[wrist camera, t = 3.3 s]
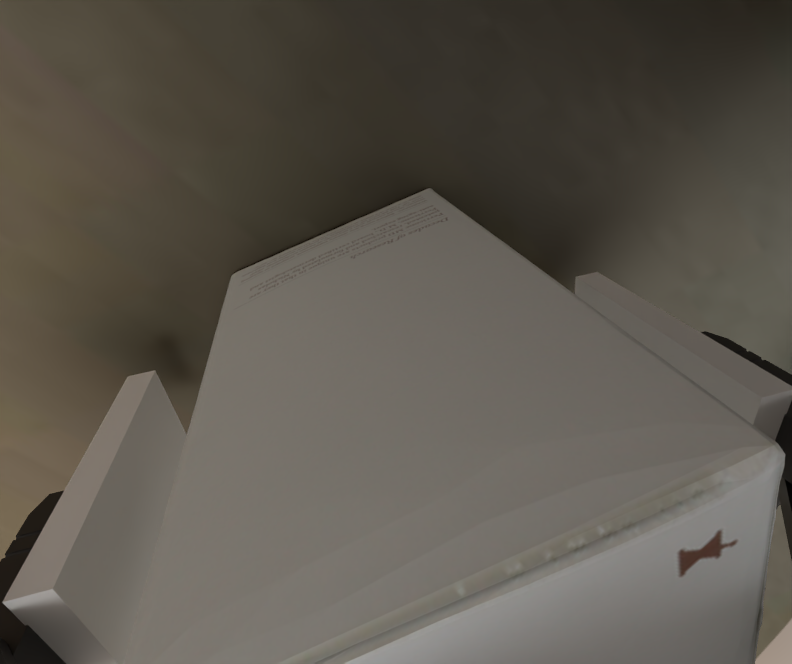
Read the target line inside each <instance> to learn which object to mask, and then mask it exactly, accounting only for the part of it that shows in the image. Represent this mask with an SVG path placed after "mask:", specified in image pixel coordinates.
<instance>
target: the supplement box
mask: <svg viewBox="0 0 792 664" xmlns="http://www.w3.org/2000/svg"><path fill="white" fill-rule="evenodd" d="M784 464H785V453H784V452H783V450H782V449H781V447H780V446H779V444H778V443H777V442H775V441H774V440H773V439H771V438H770V437H769V436H767V435H766V434H764V433H763V432H762V431H760V430H759V429H758V428H756V427H755V426H754V425H752V424H751V423H750V422H748V421H747V420H745V419H744V418H743V417H741V416H740V415H739V414H737V413H736V412H735V411H733V410H732V409H731V408H729V407H728V406H726V405H725V404H724V403H722V402H721V401H720V400H718V399H717V398H716V397H714V396H713V395H711V394H710V393H709V392H707V391H706V390H705V389H703V388H702V387H701V386H699V385H698V384H696V383H695V382H694V381H692V380H691V379H690V378H688V377H687V376H686V375H684V374H683V373H681V372H680V371H679V370H677V369H676V368H675V367H673V366H672V365H671V364H669V363H668V362H667V361H665V360H664V359H663V358H661V357H660V356H659V355H657V354H656V353H654V352H653V351H652V350H650V349H649V348H647V347H646V346H644V345H643V344H642V343H640V342H639V341H637V340H636V339H635V338H633V337H632V336H631V335H629V334H628V333H627V332H625V331H624V330H623V329H621V328H620V327H619V326H617V325H616V324H615V323H613V322H612V321H610V320H609V319H608V318H606V317H605V316H604V315H602V314H601V313H600V312H598V311H597V310H596V309H594V308H593V307H592V306H590V305H589V304H588V303H586V302H585V301H583V300H582V299H581V298H579V297H578V296H577V295H575V294H574V293H572V292H571V291H570V290H568V289H567V288H566V287H564V286H563V285H561V284H560V283H559V282H557V281H556V280H555V279H553V278H552V277H550V276H549V275H548V274H546V273H545V272H544V271H542V270H541V269H540V268H538V267H537V266H535V265H534V264H533V263H531V262H530V261H529V260H527V259H526V258H525V257H523V256H522V255H521V254H519V253H518V252H516V251H515V250H514V249H512V248H511V247H510V246H508V245H507V244H506V243H504V242H503V241H502V240H500V239H499V238H497V237H496V236H494V235H493V234H492V233H490V232H489V231H488V230H486V229H485V228H484V227H482V226H481V225H479V224H478V223H477V222H475V221H474V220H472V219H471V218H470V217H468V216H467V215H466V214H464V213H463V212H462V211H460V210H459V209H458V208H456V207H455V206H454V205H452V204H451V203H450V202H448V201H447V200H445V199H444V198H443V197H441V196H440V195H438V194H437V193H436V192H434V191H433V189H430V188H428V189H426V190H424V191H421V192H419V193H416V194H414V195H412V196H410V197H407V198H405V199H403V200H400V201H398V202H395V203H393V204H391V205H389V206H386V207H384V208H382V209H380V210H377V211H375V212H373V213H371V214H368V215H366V216H364V217H361V218H358V219H356V220H354V221H351V222H349V223H347V224H345V225H343V226H341V227H338V228H336V229H334V230H331V231H329V232H326V233H324V234H322V235H320V236H317V237H315V238H313V239H311V240H308V241H306V242H304V243H302V244H299V245H297V246H295V247H292V248H290V249H287V250H285V251H283V252H281V253H279V254H277V255H274V256H272V257H270V258H268V259H265V260H262V261H260V262H258V263H256V264H254V265H252V266H249V267H247V268H245V269H242V270H240V271H238V272H236V273H234V274H233V275H232V276H231V279H230V282H229V286H228V290H227V293H226V297H225V300H224V303H223V307H222V310H221V314H220V318H219V321H218V325H217V329H216V332H215V336H214V340H213V343H212V347H211V351H210V354H209V358H208V361H207V365H206V368H205V372H204V376H203V379H202V383H201V386H200V390H199V394H198V398H197V401H196V405H195V408H194V412H193V415H192V419H191V422H190V426H189V429H188V432H187V436H186V440H185V443H184V447H183V451H182V454H181V458H180V462H179V466H178V470H177V473H176V477H175V480H174V484H173V487H172V491H171V494H170V497H169V501H168V504H167V508H166V512H165V516H164V520H163V524H162V527H161V531H160V534H159V537H158V541H157V544H156V547H155V551H154V554H153V558H152V562H151V565H150V569H149V573H148V577H147V581H146V584H145V588H144V591H143V595H142V598H141V602H140V605H139V608H138V612H137V615H136V619H135V622H134V626H133V630H132V634H131V638H130V642H129V646H128V650H127V653H126V657H125V660H124V664H755V658H756V650H757V643H758V635H759V630H760V627H761V624H762V618H763V599H764V591H765V585H766V576H767V566H768V559H769V552H770V545H771V539H772V533H773V528H774V522H775V516H776V506H777V497H778V491H779V485H780V480H781V477H782V473H783V469H784Z"/></svg>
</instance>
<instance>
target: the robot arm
mask: <svg viewBox="0 0 792 664" xmlns="http://www.w3.org/2000/svg"><path fill="white" fill-rule="evenodd" d="M575 295H577V296H578V297H579V298H581V299H582V300H583V301H585V302H586V303H588V304H589V305H590V306H592V307H593V308H594V309H596V310H597V311H598V312H600V313H601V314H602V315H604V316H605V317H606V318H608V319H609V320H610V321H612V322H613V323H615V324H616V325H617V326H619V327H620V328H621V329H623V330H624V331H625V332H627V333H628V334H629V335H631V336H632V337H633V338H635V339H636V340H637V341H639V342H640V343H642V344H643V345H644V346H646V347H647V348H649V349H650V350H652V351H653V352H654V353H656V354H657V355H659V356H660V357H661V358H663V359H664V360H665V361H667V362H668V363H669V364H671V365H672V366H673V367H675V368H676V369H677V370H679V371H680V372H681V373H683V374H684V375H686V376H687V377H688V378H690V379H691V380H692V381H694V382H695V383H696V384H698V385H699V386H701V387H702V388H703V389H705V390H706V391H707V392H709V393H710V394H711V395H713V396H714V397H716V398H717V399H718V400H720V401H721V402H722V403H724V404H725V405H726V406H728V407H729V408H731V409H732V410H733V411H735V412H736V413H737V414H739V415H740V416H741V417H743V418H744V419H745V420H747V421H748V422H750V423H751V424H752V425H754V426H755V427H756V428H758V429H759V430H760V431H762V432H763V433H764V434H766V435H767V436H769V437H770V438H771V439H773V440H774V441H775V442H777V443H778V444H779V446H780V447H781V449H782V450H783V452H784V453H785V464H784V469H783V473H782V477H781V480H780V485H779V491H778V497H777V506H776V509H777V507H778V506H779V505H781V509H782V514H783V519H784V524H785V529H786V534H787V539H788V544H789V549H790V554H791V559H792V375H791V374H789V373H787V372H786V371H784V370H782V369H780V368H779V367H777V366H775V365H773V364H772V363H770V362H768V361H766V360H762V359H761V357H759V356H757V355H756V354H754V353H752V352H750V351H749V352H747V351H746V349H745V348H743V347H742V346H740V345H738V344H736V343H734V342H733V341H731V340H729V339H727V338H724V337H721V336H718V335H715V334H712V333H709V332H699V331H697V330H695V329H694V328H692V327H690V326H689V325H687V324H685V323H684V322H682V321H680V320H678V319H677V318H675V317H673V316H672V315H670V314H668V313H667V312H665V311H663V310H661V309H660V308H658V307H656V306H655V305H653V304H651V303H650V302H648V301H646V300H644V299H643V298H641V297H639V296H638V295H636V294H634V293H633V292H631V291H629V290H627V289H626V288H624V287H622V286H621V285H619V284H617V283H616V282H614V281H612V280H610V279H609V278H607V277H605V276H604V275H602V274H600V273H599V272H595V273H590V274H586V275H581V276H577V277H576V280H575ZM186 436H187V435H186V433H185V430H184V428H183V426H182V424H181V422H180V420H179V418H178V416H177V414H176V412H175V410H174V408H173V406H172V404H171V402H170V400H169V397H168V395H167V393H166V391H165V389H164V387H163V385H162V383H161V381H160V379H159V377H158V375H157V373H156V371H155V370H154V371H150V372H145V373H141V374H136V375H132V376H128V377H127V379H126V380H125V382H124V384H123V386H122V388H121V389H120V391H119V393H118V395H117V397H116V398H115V400H114V402H113V404H112V406H111V407H110V409H109V411H108V413H107V415H106V416H105V418H104V420H103V422H102V424H101V425H100V427H99V429H98V431H97V433H96V434H95V436H94V438H93V440H92V442H91V443H90V445H89V447H88V449H87V451H86V452H85V454H84V456H83V458H82V460H81V461H80V463H79V465H78V467H77V469H76V470H75V472H74V474H73V476H72V478H71V479H70V481H69V483H68V485H67V487H66V488H65V490H64V491H60V492H56V493H52V494H49V495H48V496H47V497H46V498H45V499H44V500H43V501H42V502H41V503H40V504H39V505H38V506H37V507H36V508H35V509H34V510H33V511H32V512H31V513H30V514H29V515H28V517H27V519H26V520H25V522H24V524H23V525H22V527H21V529H20V530H19V532H18V534H17V535H16V540H13V542H12V543H11V545H10V547H9V548H8V550H7V552H6V553H5V555H6V557H5V558H3V559H2V560H1V562H0V664H124V660H125V657H126V653H127V650H128V646H129V642H130V638H131V634H132V630H133V626H134V622H135V619H136V615H137V612H138V608H139V605H140V602H141V598H142V595H143V591H144V588H145V584H146V581H147V577H148V573H149V569H150V565H151V562H152V558H153V554H154V551H155V547H156V544H157V541H158V537H159V534H160V531H161V527H162V524H163V520H164V516H165V512H166V508H167V504H168V501H169V497H170V494H171V491H172V487H173V484H174V480H175V477H176V473H177V470H178V466H179V462H180V458H181V454H182V451H183V447H184V443H185V440H186Z"/></svg>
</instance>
